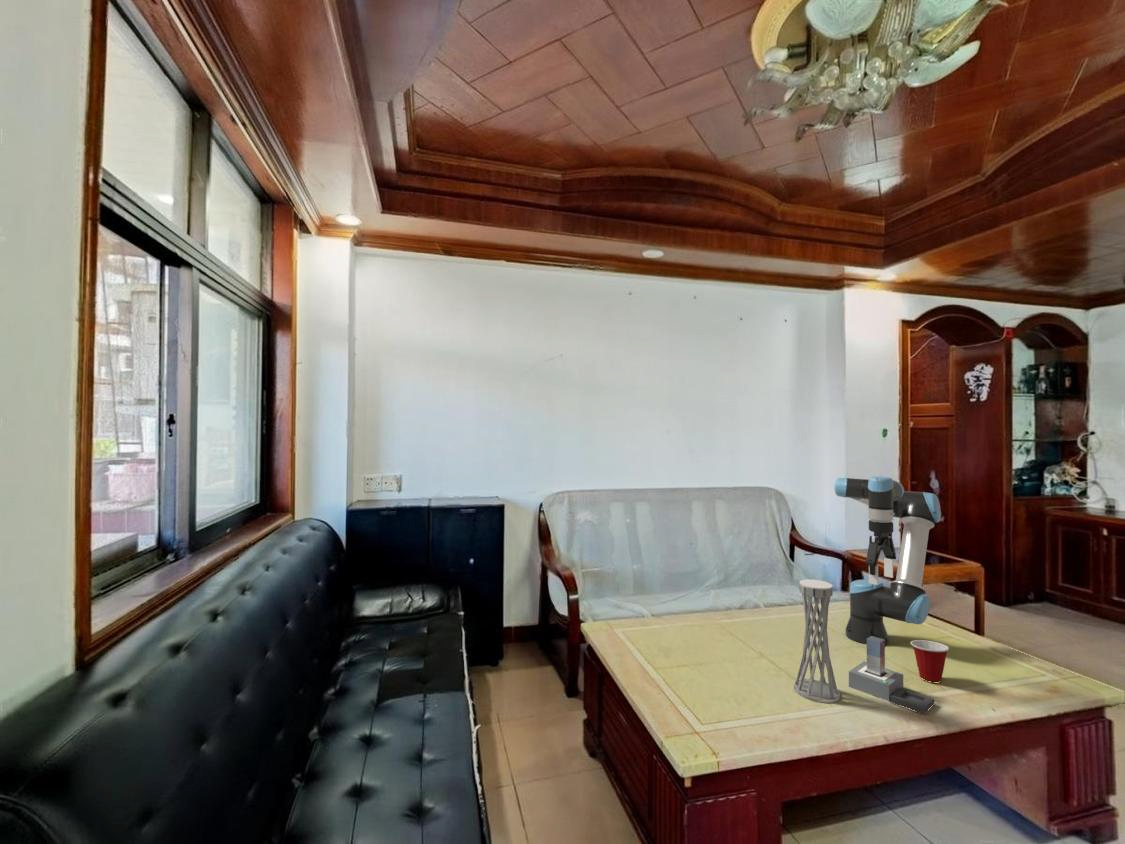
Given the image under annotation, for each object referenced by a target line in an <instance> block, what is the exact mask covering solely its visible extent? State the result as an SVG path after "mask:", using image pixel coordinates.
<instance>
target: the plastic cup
mask: <svg viewBox="0 0 1125 844" xmlns="http://www.w3.org/2000/svg"><path fill="white" fill-rule="evenodd" d="M910 645H911V646H912V649H913V652H914V657H915V661H916V664H917V665H916V666H917V669H918V674H919V677H921V678H923V679H925V680H927V681H931V682H939V681H941V682H942V678H943V674H944V671H945V669H944V668H945V663H946V659H947V655H948V651H949V650H950V647H949V646H948V645H946V644H944V643H940V642H937V641H933V640H932V641H931V640H925V639H923V640H922V639H915V640H912V641H910ZM921 678H920V679H921Z"/></svg>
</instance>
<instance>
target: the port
mask: <svg viewBox="0 0 1125 844" xmlns="http://www.w3.org/2000/svg"><path fill="white" fill-rule="evenodd" d="M848 687H849V688H852V689H854V690H857V691H860V692H862V691H863V693H865V692H866V693H865V694H868V693H869V694H868V695H870V694H872V695H871V696H873V695H875V696H874V697H876V696H877V697H876V698H879V697H881V698H883V699H882V700H884V699H886V700H885V701H887V700H890V696H891V695H892V694H894V693H895V692H896V691H897V690H898V689H900V688H901V687H902V688H904V673H901V672H898V671H895V670H891V669H888V668H886V667H885V676H883V677H882V678H881V677H878V676H875V675H872V674H869V673H867V661H862V662H860V663H859V664H857V665H856V666H854V667H853V668H851V669H850V670H849V671H848ZM881 698H880V699H881Z"/></svg>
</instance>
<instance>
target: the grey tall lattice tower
mask: <svg viewBox="0 0 1125 844" xmlns="http://www.w3.org/2000/svg"><path fill="white" fill-rule="evenodd" d="M833 586H834V585H833V584H832V583H830V582H827V581H824V580H818V579H809V578H808V579H802V580H801V579H800V581H799V592H800V593H801V595H802V601H803V611H804V612H803V613H804V622H805V623H804V624H805V628H804V629H805V630H804V638H803V639H804V640H803V649H802V657H801V660H800V664H799V669H798V671H797V676H796V677H797V678H796V681H795V682H794V684H793V690H794V691H795V693H796V694H797V695H799V696H800V697H802V698H804V699H807V700H808V701H809V700H810V701H812V702H818V703H826V704H829V703H831V704H833V703H835V702H838V701H839V700H840V696H841V694H840V690H839V689H838V687H837V682H836V679H835V674H834V670H833V666H832V662H831V656H830V647H829V638H828V621H829V619H828V618H829V608H830V607H829V606H830V601H831V597H833V594H834V593H833ZM812 600H813V602H814V607H813V603H812ZM819 605H820V607H819ZM816 616H817V617H816ZM820 649H821V656H820ZM813 650H814V651H815V652H814V653H815V654H814V657H813V656H812V653H813ZM812 657H813V658H812ZM817 664H818V669H819V673H820V680H819V679H815V678H814V677H815V673H816V668H817ZM808 666H809V667H808ZM808 668H809V676H810V677H809V678H805V677H806V674H807V670H808ZM825 668H826V672H827V681H826V677H825Z"/></svg>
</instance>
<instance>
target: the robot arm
mask: <svg viewBox="0 0 1125 844" xmlns="http://www.w3.org/2000/svg"><path fill="white" fill-rule="evenodd" d="M833 487H834V488H833V489H834V493H835V495H836V496H837V497H840V498H849V499H852V500H855V501H857V502H860V503H862V504H864V505H867V506H868V510H867V511H868V515H867V516H868V519H869V520H868V531H870V532H873V535H869V540H868V549H867V555H866V558H865V565H868V579H856V580H853V581H851V583H850V585H849V586H850V587H849V588H850V589H849V613H850V614H849V615H850V616H849V619H848V620H847V623H846V626H845V636H846V637H847V638H848V639H849V640H852V641H854V642H857V643H860V644H865V645H867V638H869V637H870V636H874V637H877V638H881V639H884V640H885V645H887V644H888V643H889V634H888V630H887V628H886V626H885V623H884V618H887V619H891V620H896V621H901V622H903V623H904V622H905V623H906V624H914V625H922V624H923V623H924V622H925V621H926V620H927V618H928V615H929V612H930V608H931V598H930V596H929V595H928V594H926V593H927V592H926V589H925V588H924V587H923V578H924V570H925V565H926V563H925V562H926V555H927V548H928V541H929V534H930V533H929V532H930V530H931V529H933V528H934V527H935V525H936V524H935V523H939V522H941V519H942V518H941V517H942V511H941V504H940V501H939V498H938V496H937V495H936V494H935V493H932V492H925V491H923V492H922V491H911V490H905V488H904V486H903V484H902V483H901V482H899V481H897V480H893V478H892V477H888V476H870V477H869V478H868V479H864V478H853V477H852V478H850V477H837V478H836V480H835V482H834V485H833ZM894 518H898V519H900V522H901V523H902V525H903V531H902V537H901V544H900V550H899V556H898V563H897V570H896V577H895V580H893V581H891V582H890V585H889V586H890V587H889V586H888V587H887V586H884V584H883V583H884V582H882V581H880V580H879V565H878V562H879V559H880V555H881V553H882V552H883V555H884V558H883V576H884V577H886V578H892V579H893V578H894V560H896V559H897V556H896V555H897V554H896V550H895V545H894V541H893V540H894V539H893V533H894V523H893V521H894Z"/></svg>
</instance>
